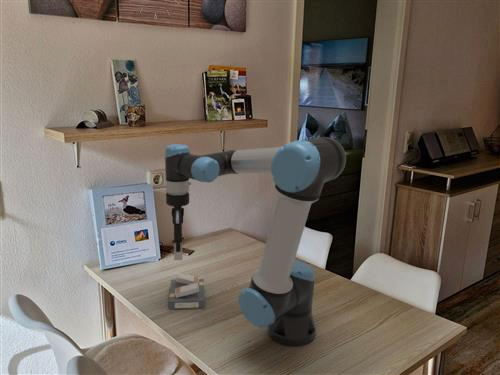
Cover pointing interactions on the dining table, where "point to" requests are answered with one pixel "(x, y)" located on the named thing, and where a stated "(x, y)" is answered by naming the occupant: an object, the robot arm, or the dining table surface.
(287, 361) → the dining table surface
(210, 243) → the dining table surface
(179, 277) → the rocker rear
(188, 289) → the rocker front
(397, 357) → the dining table surface
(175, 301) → the switch unit
